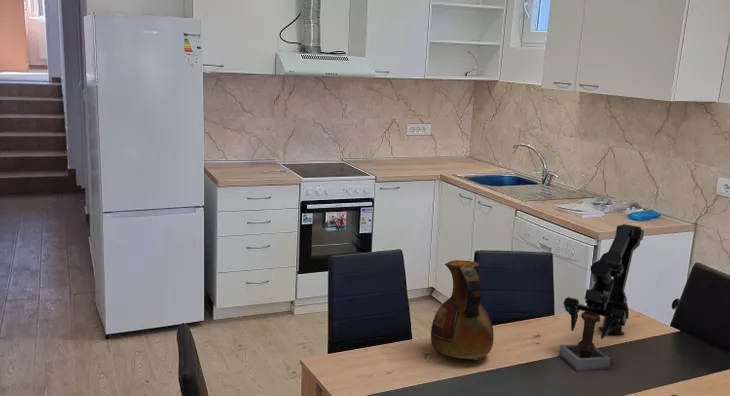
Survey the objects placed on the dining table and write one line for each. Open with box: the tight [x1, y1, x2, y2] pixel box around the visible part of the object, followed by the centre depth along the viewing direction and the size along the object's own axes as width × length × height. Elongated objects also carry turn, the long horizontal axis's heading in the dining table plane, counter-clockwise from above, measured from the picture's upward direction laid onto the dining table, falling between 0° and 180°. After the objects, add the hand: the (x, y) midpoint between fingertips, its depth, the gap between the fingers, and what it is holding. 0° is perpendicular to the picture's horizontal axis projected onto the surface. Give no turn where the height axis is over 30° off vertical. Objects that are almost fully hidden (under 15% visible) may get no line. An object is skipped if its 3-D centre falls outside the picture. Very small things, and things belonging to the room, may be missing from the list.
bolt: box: [577, 311, 601, 358], centre depth 205 cm, size 6×5×15 cm
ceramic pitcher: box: [430, 259, 495, 361], centre depth 204 cm, size 20×20×30 cm
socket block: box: [558, 343, 611, 372], centre depth 206 cm, size 11×11×4 cm
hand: (586, 334), depth 204 cm, fingers open, 9 cm apart
